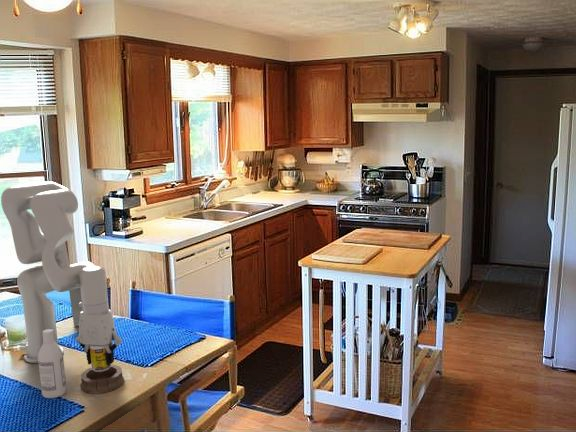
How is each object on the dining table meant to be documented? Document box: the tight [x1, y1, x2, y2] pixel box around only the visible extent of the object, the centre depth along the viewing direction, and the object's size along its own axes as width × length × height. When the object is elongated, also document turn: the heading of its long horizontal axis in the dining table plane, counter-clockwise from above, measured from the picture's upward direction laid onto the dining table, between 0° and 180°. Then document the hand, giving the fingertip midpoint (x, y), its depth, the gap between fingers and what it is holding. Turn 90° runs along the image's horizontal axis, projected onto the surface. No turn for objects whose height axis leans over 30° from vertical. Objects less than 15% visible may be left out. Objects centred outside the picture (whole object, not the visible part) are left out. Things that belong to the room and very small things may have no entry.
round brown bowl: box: [79, 364, 125, 395], centre depth 180 cm, size 13×13×4 cm
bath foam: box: [37, 329, 67, 399], centre depth 173 cm, size 7×7×20 cm
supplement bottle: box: [90, 345, 112, 372], centre depth 178 cm, size 6×6×10 cm
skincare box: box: [68, 287, 82, 327], centre depth 231 cm, size 8×7×16 cm
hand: (100, 362), depth 179 cm, fingers closed on supplement bottle, 5 cm apart
